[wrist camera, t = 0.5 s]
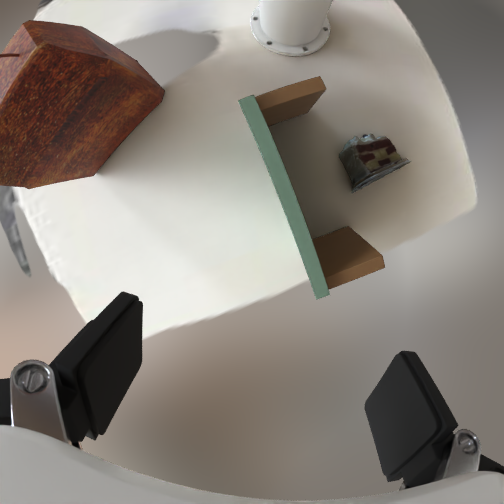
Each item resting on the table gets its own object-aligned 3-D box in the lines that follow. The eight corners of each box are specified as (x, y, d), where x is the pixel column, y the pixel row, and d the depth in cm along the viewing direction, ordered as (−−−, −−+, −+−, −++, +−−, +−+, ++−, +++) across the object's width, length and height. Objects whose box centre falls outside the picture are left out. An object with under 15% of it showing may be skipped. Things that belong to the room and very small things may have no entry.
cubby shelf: (249, 123, 38) (237, 100, 23) (303, 103, 37) (322, 72, 22) (301, 253, 44) (316, 299, 29) (351, 234, 43) (389, 271, 28)
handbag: (170, 95, 37) (-8, 10, 4) (94, 176, 42) (-83, 225, 9) (137, 59, 35) (-19, -20, 2) (67, 139, 40) (-95, 155, 6)
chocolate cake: (392, 123, 37) (360, 121, 30) (414, 160, 36) (390, 168, 30) (352, 150, 45) (314, 157, 38) (372, 185, 44) (338, 199, 38)
